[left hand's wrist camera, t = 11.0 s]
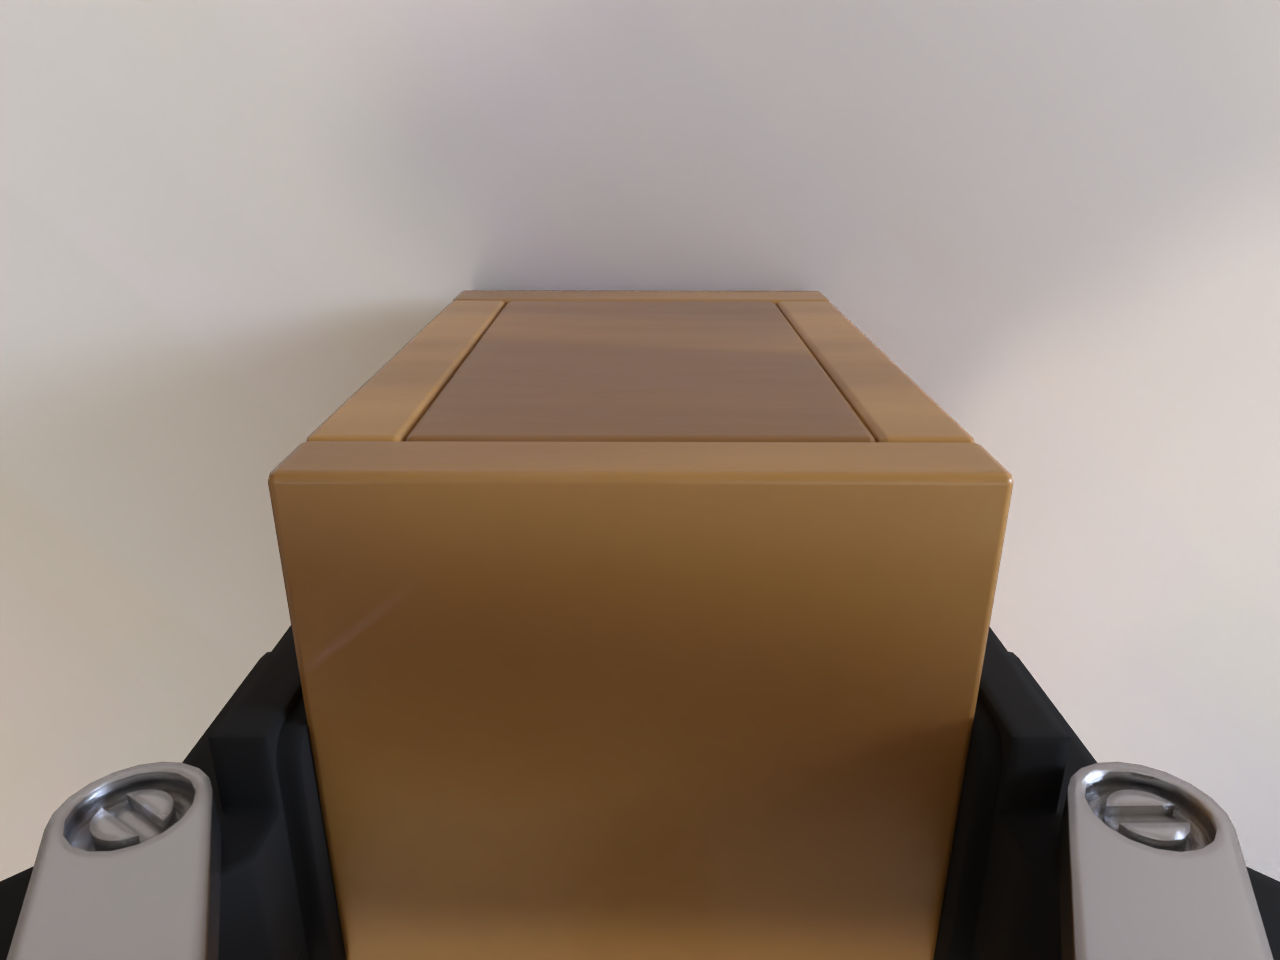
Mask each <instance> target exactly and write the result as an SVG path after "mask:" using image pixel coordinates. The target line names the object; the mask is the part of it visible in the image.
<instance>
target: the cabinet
mask: <svg viewBox="0 0 1280 960" xmlns="http://www.w3.org/2000/svg"><path fill="white" fill-rule="evenodd" d="M268 485H269V491H270V497H271V503H272V509H273V515H274V521H275V527H276V534H277V540H278V546H279V552H280V558H281V564H282V570H283V576H284V583H285V589H286V595H287V601H288V607H289V613H290V619H291V625H292V632H293V638H294V644H295V650H296V656H297V662H298V668H299V674H300V681H301V687H302V693H303V699H304V705H305V711H306V717H307V723H308V730H309V736H310V742H311V748H312V754H313V760H314V766H315V772H316V779H317V785H318V791H319V797H320V803H321V809H322V815H323V821H324V828H325V834H326V840H327V846H328V852H329V858H330V864H331V870H332V877H333V883H334V889H335V895H336V901H337V907H338V913H339V919H340V926H341V932H342V938H343V944H344V950H345V956H346V960H934V954H935V948H936V942H937V936H938V930H939V924H940V918H941V912H942V906H943V900H944V894H945V888H946V882H947V876H948V870H949V864H950V858H951V852H952V846H953V840H954V834H955V828H956V822H957V816H958V810H959V804H960V798H961V792H962V786H963V780H964V774H965V768H966V762H967V757H968V751H969V745H970V739H971V733H972V727H973V721H974V715H975V709H976V703H977V697H978V691H979V685H980V679H981V673H982V667H983V661H984V655H985V649H986V643H987V637H988V631H989V625H990V619H991V613H992V607H993V601H994V595H995V589H996V583H997V577H998V571H999V565H1000V559H1001V553H1002V547H1003V541H1004V535H1005V530H1006V524H1007V518H1008V512H1009V506H1010V500H1011V494H1012V488H1013V479H1012V476H1011V474H1010V473H1009V472H1008V471H1007V470H1006V469H1005V468H1004V467H1003V466H1002V465H1001V464H1000V463H999V462H998V461H996V460H995V459H994V458H993V457H992V456H991V455H990V454H989V453H988V452H987V451H986V450H985V449H984V448H983V447H982V446H981V445H978V444H976V443H975V442H974V439H973V438H972V437H971V436H970V435H969V434H968V433H967V432H966V431H965V430H964V429H963V428H962V427H961V426H960V425H959V424H958V423H957V422H955V421H954V420H953V419H952V418H951V417H950V416H949V415H948V414H947V413H946V412H945V411H944V410H943V409H942V408H941V407H940V406H939V405H938V404H936V403H935V402H934V401H933V400H932V399H931V398H930V397H929V396H928V395H927V394H926V393H925V392H924V391H923V390H922V389H921V388H920V387H919V386H918V385H916V384H915V383H914V382H913V381H912V380H911V379H910V378H909V377H908V376H907V375H906V374H905V373H904V372H903V371H902V370H901V369H900V368H899V367H898V366H896V365H895V364H894V363H893V362H892V361H891V360H890V359H889V358H888V357H887V356H886V355H885V354H884V353H883V352H882V351H881V350H880V349H879V348H877V347H876V346H875V345H874V344H873V343H872V342H871V341H870V340H869V339H868V338H867V337H866V336H865V335H864V334H863V333H862V332H861V331H860V330H859V329H857V328H856V327H855V326H854V325H853V324H852V323H851V322H850V321H849V320H848V319H847V318H846V317H845V316H844V315H843V314H842V313H841V312H840V311H839V310H837V309H836V308H835V307H834V306H833V305H832V304H831V303H830V302H829V300H828V299H827V298H826V297H825V296H823V295H822V294H821V293H820V292H818V291H463V292H461V293H460V294H459V295H458V296H457V297H456V298H455V299H454V300H453V302H451V303H450V304H449V305H448V306H447V307H446V308H445V309H444V310H443V311H442V312H441V313H440V314H438V315H437V316H436V317H435V318H434V319H433V320H432V321H431V322H430V323H429V324H428V325H427V326H426V327H425V328H424V329H422V330H421V331H420V332H419V333H418V334H417V335H416V336H415V337H414V338H413V339H412V340H411V341H410V342H409V343H408V344H407V345H405V346H404V347H403V348H402V349H401V350H400V351H399V352H398V353H397V354H396V355H395V356H394V357H393V358H392V359H391V360H389V361H388V362H387V363H386V364H385V365H384V366H383V367H382V368H381V369H380V370H379V371H378V372H377V373H376V374H375V375H374V376H372V377H371V378H370V379H369V380H368V381H367V382H366V383H365V384H364V385H363V386H362V387H361V388H360V389H359V390H358V391H356V392H355V393H354V394H353V395H352V396H351V397H350V398H349V399H348V400H347V401H346V402H345V403H344V404H343V405H342V406H340V407H339V408H338V409H337V410H336V411H335V412H334V413H333V414H332V415H331V416H330V417H329V418H328V419H327V420H326V421H325V422H323V423H322V424H321V425H320V426H319V427H318V428H317V429H316V430H315V431H314V432H313V433H312V434H311V435H310V436H309V437H308V438H307V441H306V442H305V443H302V444H300V445H299V446H298V447H297V448H296V449H295V450H294V451H293V452H292V453H291V454H290V455H289V456H288V457H287V458H285V459H284V460H283V461H282V462H281V463H280V464H279V465H278V466H277V467H276V468H275V469H274V470H273V471H272V472H271V473H270V475H269V479H268Z"/></svg>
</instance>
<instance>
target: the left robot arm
mask: <svg viewBox="0 0 1280 960" xmlns="http://www.w3.org/2000/svg"><path fill="white" fill-rule="evenodd" d="M0 960H346V956H345V950H344V944H343V938H342V932H341V926H340V919H339V913H338V907H337V901H336V895H335V889H334V883H333V877H332V870H331V864H330V858H329V852H328V846H327V840H326V834H325V828H324V821H323V815H322V809H321V803H320V797H319V791H318V785H317V779H316V772H315V766H314V760H313V754H312V748H311V742H310V736H309V730H308V723H307V717H306V711H305V705H304V699H303V693H302V687H301V681H300V674H299V668H298V662H297V656H296V650H295V644H294V638H293V632H292V625H291V626H290V627H289V629H288V630H287V631H286V633H285V634H284V636H283V637H282V638H281V640H280V641H279V642H278V644H277V645H276V646H275V648H274V649H273V650H272V652H267V653H266V654H265V655H264V656H263V657H261V658H260V660H259V661H258V662H257V664H256V665H255V666H254V668H253V669H252V670H251V672H250V673H249V674H248V676H247V677H246V678H245V680H244V681H243V682H242V684H241V685H240V686H239V688H238V689H237V690H236V692H235V693H234V694H233V696H232V697H231V698H230V700H229V701H228V702H227V704H226V705H225V706H224V708H223V709H222V710H221V712H220V713H219V714H218V716H217V717H216V718H215V720H214V721H213V722H212V724H211V725H210V726H209V728H208V729H207V730H206V732H205V733H204V734H203V736H202V737H201V738H200V740H199V741H198V742H197V744H196V745H195V746H194V748H193V749H192V750H191V752H190V753H189V754H188V756H187V757H186V758H185V760H184V761H183V762H182V763H174V762H158V763H150V764H143V765H137V766H134V767H131V768H127V769H124V770H121V771H117V772H114V773H112V774H110V775H107V776H105V777H103V778H101V779H99V780H97V781H94V782H92V783H90V784H89V785H87V786H86V787H84V788H83V789H81V790H80V791H78V792H77V793H75V794H74V795H72V796H71V797H69V798H68V799H67V800H66V801H65V802H64V803H63V804H62V805H61V806H60V807H59V808H58V809H57V810H56V811H55V812H54V813H53V815H52V817H51V819H50V820H49V822H48V824H47V826H46V828H45V830H44V834H43V837H42V840H41V844H40V847H39V851H38V854H37V857H36V861H35V864H34V867H31V868H29V869H27V870H25V871H23V872H20V873H18V874H16V875H14V876H12V877H9V878H7V879H5V880H3V881H1V882H0ZM934 960H1280V882H1279V881H1277V880H1274V879H1272V878H1270V877H1268V876H1266V875H1264V874H1261V873H1259V872H1257V871H1255V870H1253V869H1250V868H1248V867H1246V864H1245V861H1244V857H1243V854H1242V851H1241V847H1240V844H1239V840H1238V837H1237V834H1236V830H1235V828H1234V826H1233V824H1232V822H1231V820H1230V819H1229V817H1228V815H1227V813H1226V812H1225V811H1224V810H1223V809H1222V808H1221V807H1220V806H1219V805H1218V804H1217V803H1216V802H1215V801H1214V800H1213V799H1212V798H1211V797H1209V796H1208V795H1206V794H1205V793H1203V792H1202V791H1200V790H1199V789H1197V788H1196V787H1194V786H1193V785H1191V784H1190V783H1188V782H1186V781H1183V780H1181V779H1179V778H1177V777H1175V776H1173V775H1170V774H1168V773H1166V772H1163V771H1159V770H1156V769H1153V768H1149V767H1146V766H1143V765H1137V764H1130V763H1122V762H1106V763H1097V762H1096V761H1095V759H1094V758H1093V757H1092V755H1091V754H1090V752H1089V751H1088V750H1087V748H1086V747H1085V746H1084V744H1083V743H1082V742H1081V740H1080V739H1079V738H1078V736H1077V735H1076V734H1075V732H1074V731H1073V730H1072V728H1071V727H1070V726H1069V724H1068V723H1067V722H1066V720H1065V719H1064V718H1063V716H1062V715H1061V714H1060V712H1059V711H1058V710H1057V708H1056V707H1055V706H1054V704H1053V703H1052V702H1051V700H1050V699H1049V698H1048V696H1047V695H1046V694H1045V692H1044V691H1043V690H1042V688H1041V687H1040V686H1039V684H1038V683H1037V682H1036V680H1035V679H1034V678H1033V676H1032V675H1031V674H1030V672H1029V671H1028V670H1027V668H1026V667H1025V666H1024V664H1023V663H1022V662H1021V660H1020V659H1019V658H1018V657H1017V656H1016V655H1015V654H1014V653H1013V652H1008V651H1007V650H1006V648H1005V647H1004V646H1003V644H1002V643H1001V642H1000V640H999V639H998V638H997V636H996V635H995V634H994V632H993V631H992V629H991V628H990V627H989V631H988V637H987V643H986V649H985V655H984V661H983V667H982V673H981V679H980V685H979V691H978V697H977V703H976V709H975V715H974V721H973V727H972V733H971V739H970V745H969V751H968V757H967V762H966V768H965V774H964V780H963V786H962V792H961V798H960V804H959V810H958V816H957V822H956V828H955V834H954V840H953V846H952V852H951V858H950V864H949V870H948V876H947V882H946V888H945V894H944V900H943V906H942V912H941V918H940V924H939V930H938V936H937V942H936V948H935V954H934Z"/></svg>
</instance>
